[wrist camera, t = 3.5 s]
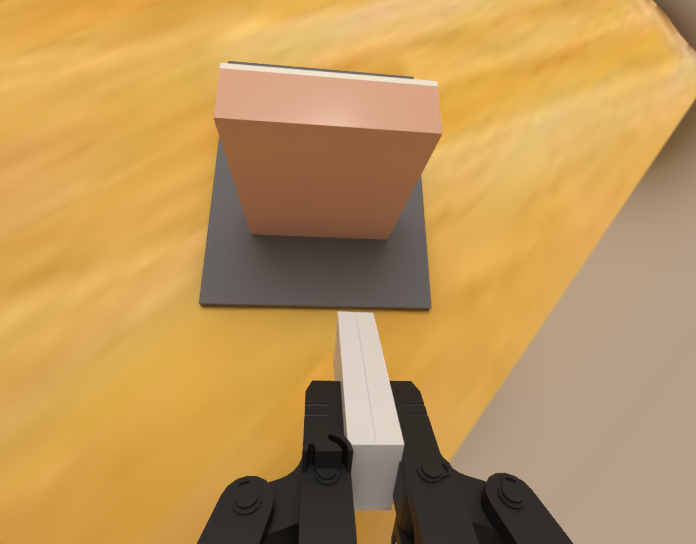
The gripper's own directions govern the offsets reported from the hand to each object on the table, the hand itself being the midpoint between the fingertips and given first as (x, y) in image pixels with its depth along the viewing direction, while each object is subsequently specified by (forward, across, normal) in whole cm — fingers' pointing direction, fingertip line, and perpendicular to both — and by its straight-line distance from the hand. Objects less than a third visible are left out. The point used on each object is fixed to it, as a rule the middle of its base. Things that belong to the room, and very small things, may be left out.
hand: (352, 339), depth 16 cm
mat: (+17, -2, +3) cm, 17 cm away
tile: (+14, -1, +1) cm, 14 cm away
